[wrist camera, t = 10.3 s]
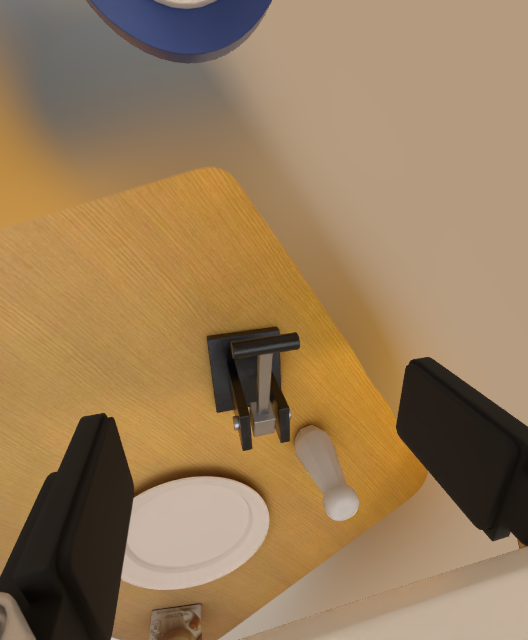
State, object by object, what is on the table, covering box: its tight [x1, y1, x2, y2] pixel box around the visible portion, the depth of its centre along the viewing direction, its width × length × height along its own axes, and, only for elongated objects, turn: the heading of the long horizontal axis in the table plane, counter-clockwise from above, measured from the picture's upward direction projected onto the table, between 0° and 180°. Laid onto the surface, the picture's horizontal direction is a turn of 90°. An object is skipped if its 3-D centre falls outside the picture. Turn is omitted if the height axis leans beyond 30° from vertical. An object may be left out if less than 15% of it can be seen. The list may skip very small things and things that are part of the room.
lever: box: [231, 332, 300, 437], centre depth 30 cm, size 13×6×2 cm, turn 2°
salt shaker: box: [295, 425, 359, 521], centre depth 44 cm, size 6×6×13 cm
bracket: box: [207, 327, 291, 451], centre depth 37 cm, size 11×9×12 cm
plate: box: [121, 476, 269, 590], centre depth 51 cm, size 26×26×2 cm
